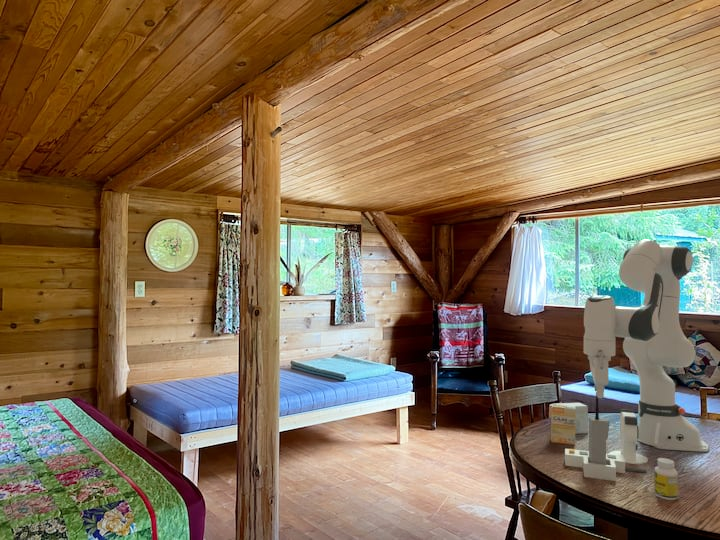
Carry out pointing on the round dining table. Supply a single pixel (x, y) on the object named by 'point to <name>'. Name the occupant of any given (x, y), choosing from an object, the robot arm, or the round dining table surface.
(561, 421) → the supplement box
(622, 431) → the white holder
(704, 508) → the round dining table surface
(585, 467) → the charging dock
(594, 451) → the vintage mobile phone
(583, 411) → the skincare box
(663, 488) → the supplement bottle
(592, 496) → the round dining table surface
